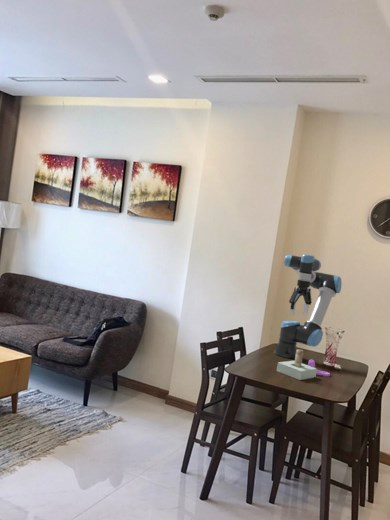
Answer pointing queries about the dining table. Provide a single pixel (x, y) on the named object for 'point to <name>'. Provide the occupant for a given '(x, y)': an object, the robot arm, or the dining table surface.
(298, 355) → the peg
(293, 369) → the socket block
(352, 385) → the dining table surface
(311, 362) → the bracket
